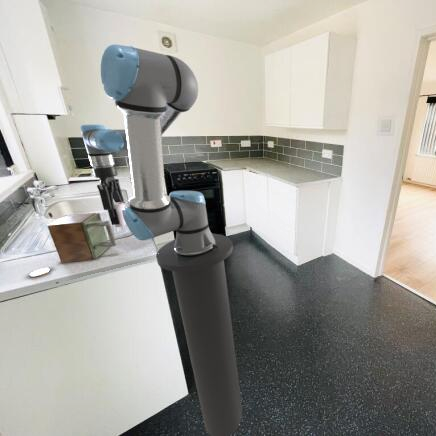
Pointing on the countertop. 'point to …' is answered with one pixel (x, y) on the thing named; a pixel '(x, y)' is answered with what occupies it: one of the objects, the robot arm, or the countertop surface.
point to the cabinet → (71, 238)
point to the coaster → (40, 272)
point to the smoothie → (119, 213)
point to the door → (98, 235)
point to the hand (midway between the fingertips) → (119, 221)
